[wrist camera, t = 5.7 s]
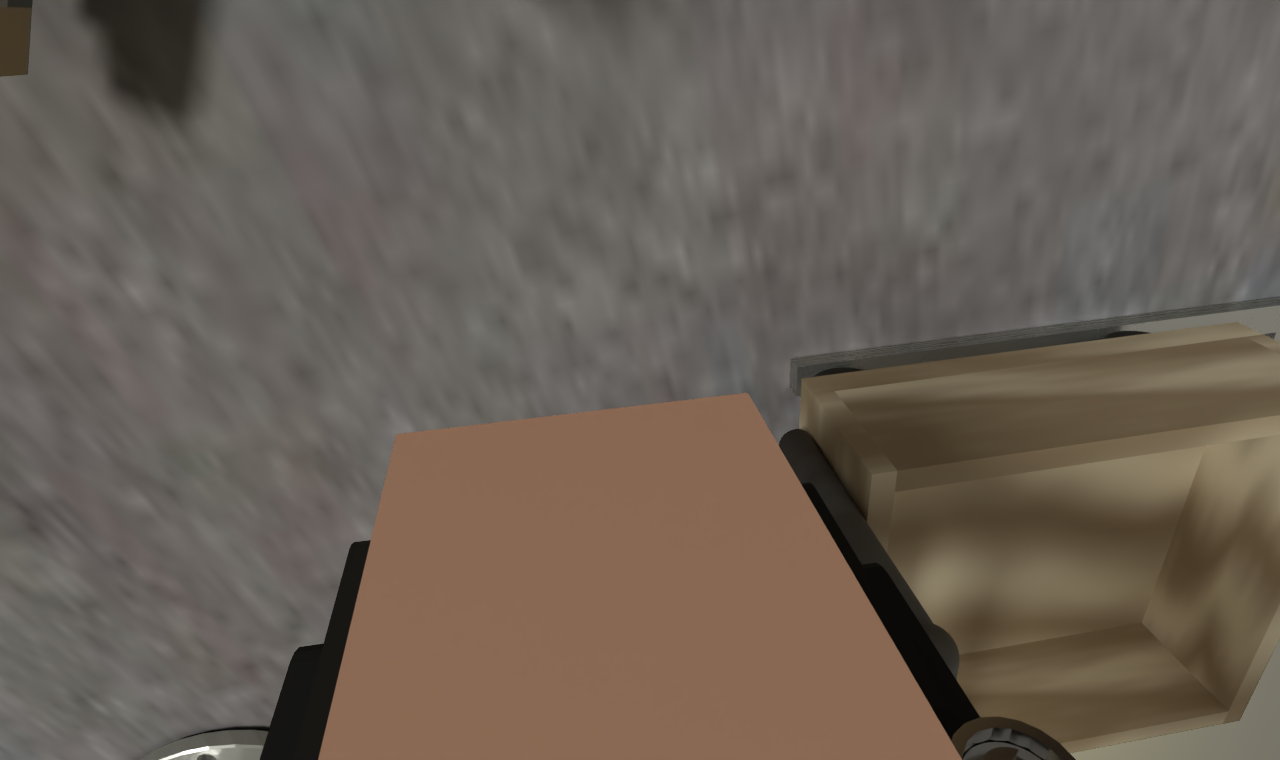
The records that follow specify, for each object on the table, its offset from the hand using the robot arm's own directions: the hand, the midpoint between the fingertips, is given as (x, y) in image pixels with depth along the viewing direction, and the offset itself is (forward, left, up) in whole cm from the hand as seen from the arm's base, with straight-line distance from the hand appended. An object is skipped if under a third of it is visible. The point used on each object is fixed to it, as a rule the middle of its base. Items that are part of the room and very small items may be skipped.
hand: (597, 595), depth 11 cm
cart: (-14, -17, -18) cm, 29 cm away
